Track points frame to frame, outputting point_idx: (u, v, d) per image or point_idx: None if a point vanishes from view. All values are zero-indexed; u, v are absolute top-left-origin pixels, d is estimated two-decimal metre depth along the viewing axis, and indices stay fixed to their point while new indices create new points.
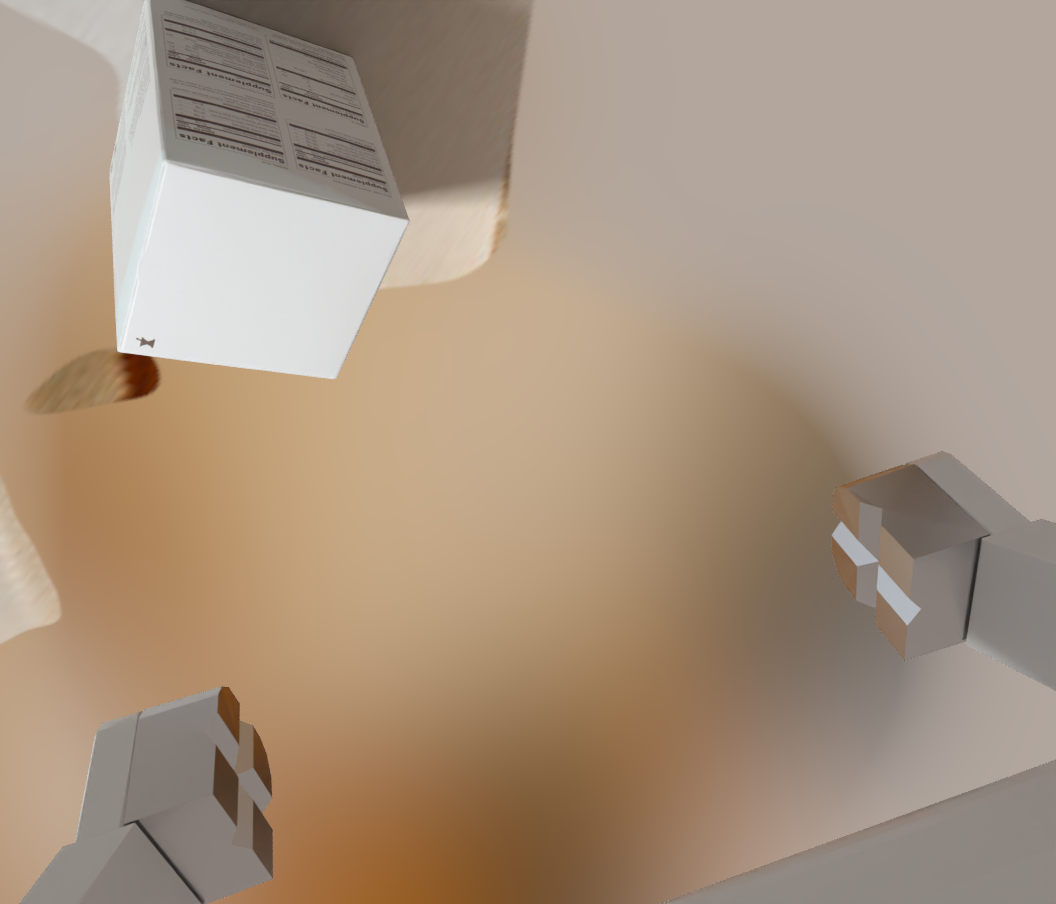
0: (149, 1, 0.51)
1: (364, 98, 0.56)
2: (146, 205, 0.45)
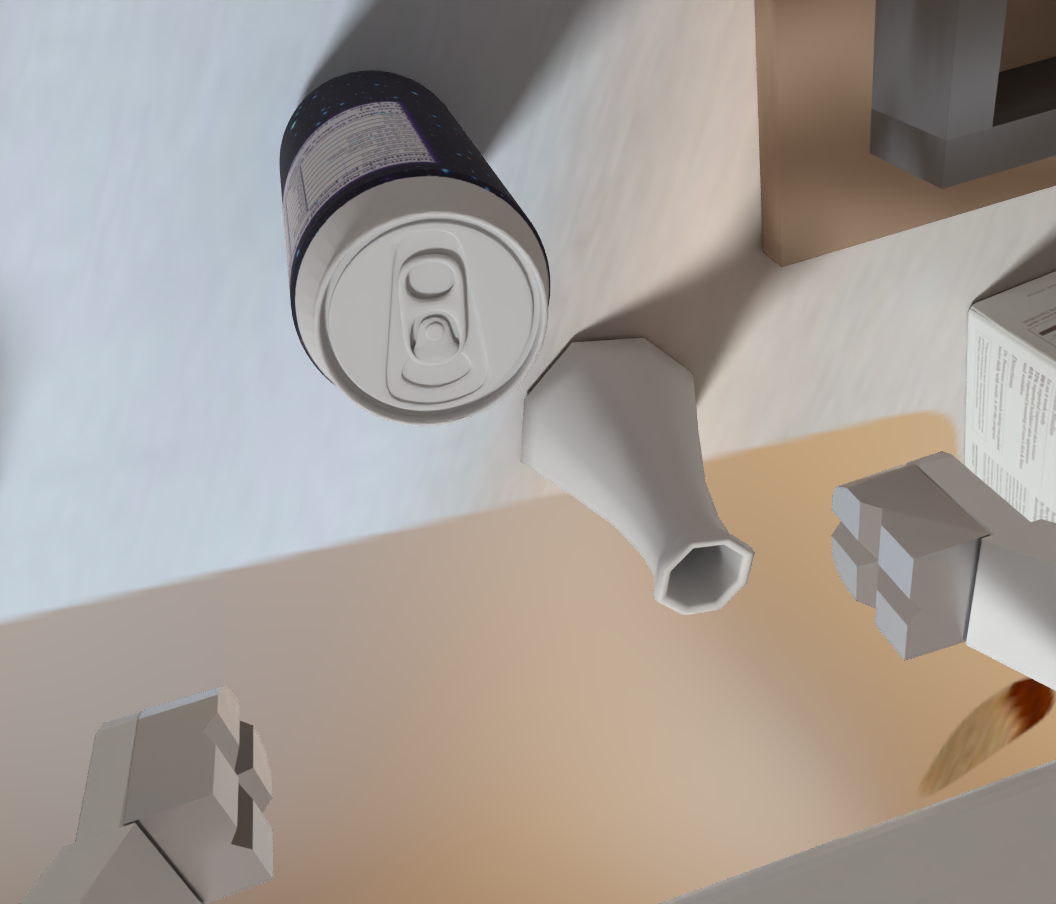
0: (991, 322, 0.36)
1: None
2: None
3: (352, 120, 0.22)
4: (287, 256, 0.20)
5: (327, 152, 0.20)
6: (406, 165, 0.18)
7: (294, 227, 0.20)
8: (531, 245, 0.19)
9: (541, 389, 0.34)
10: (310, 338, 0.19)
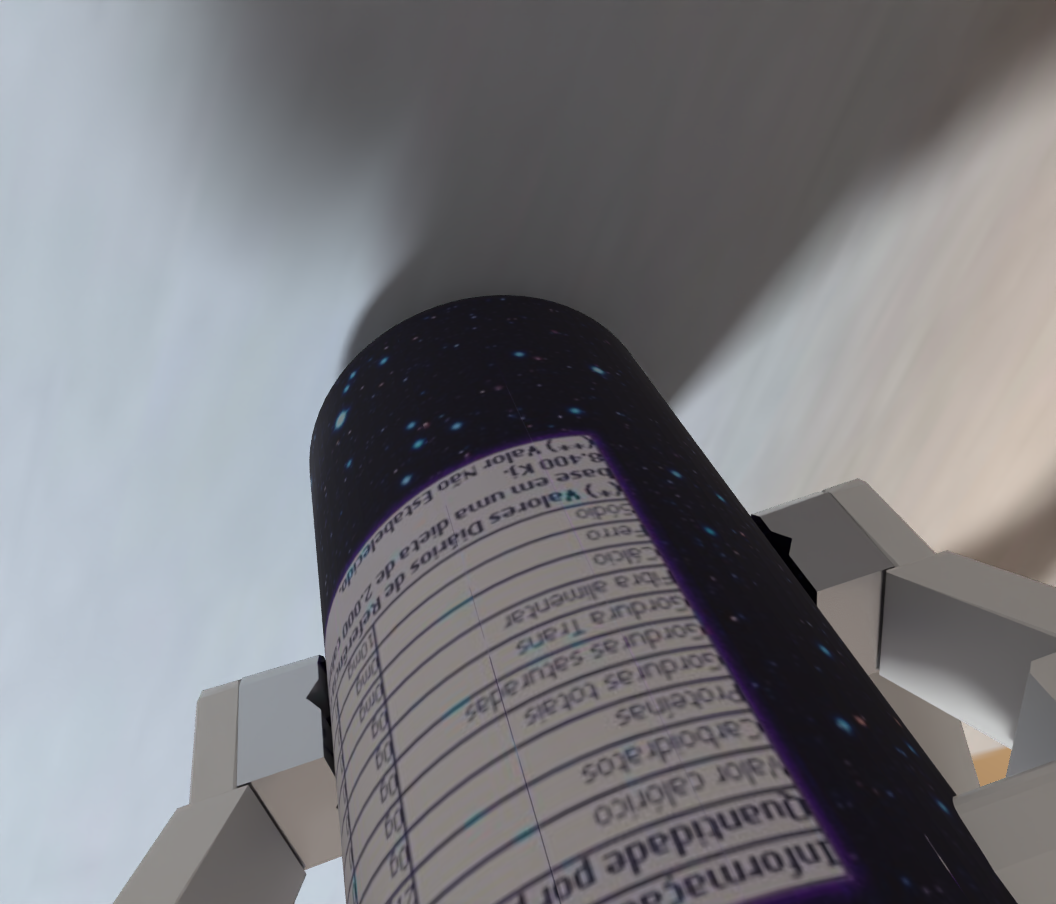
0: None
1: None
2: None
3: (501, 520, 0.09)
4: None
5: (455, 658, 0.08)
6: None
7: None
8: None
9: None
10: None
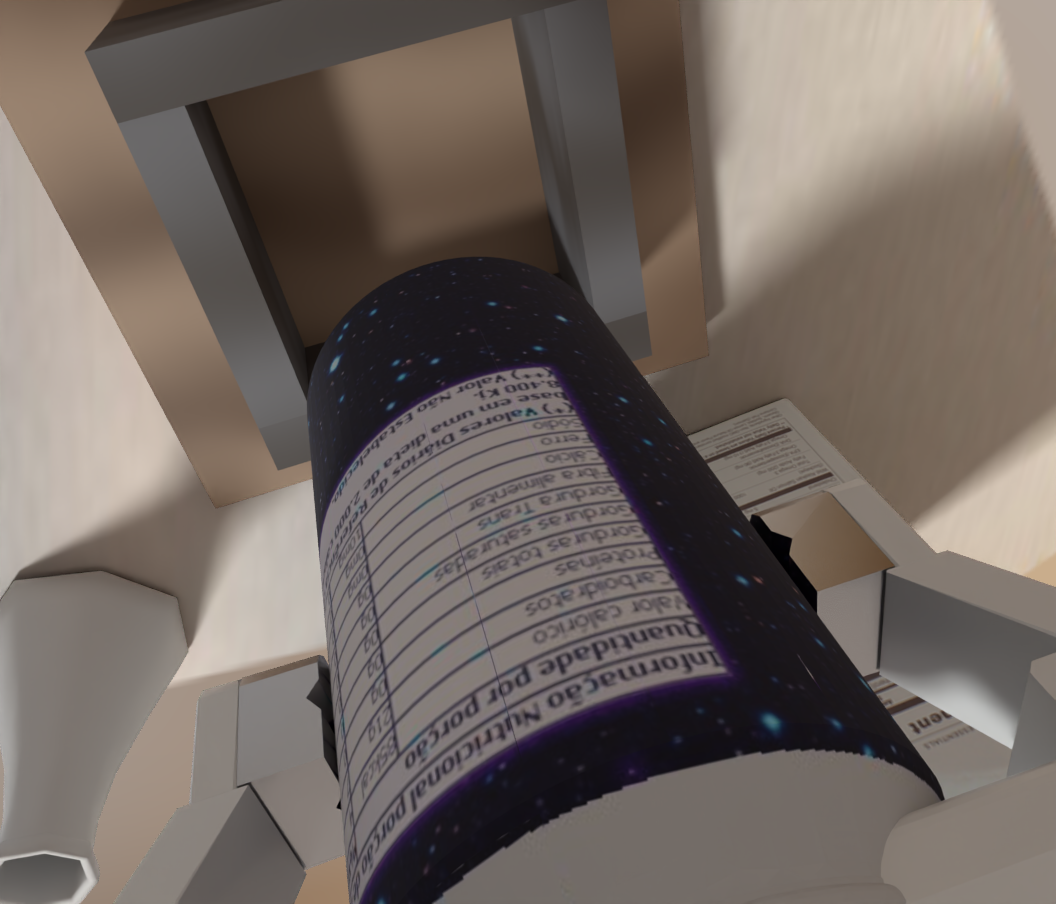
0: None
1: (850, 471, 0.32)
2: None
3: (469, 432, 0.10)
4: (339, 775, 0.09)
5: (427, 536, 0.09)
6: (669, 703, 0.07)
7: (360, 751, 0.08)
8: None
9: None
10: None
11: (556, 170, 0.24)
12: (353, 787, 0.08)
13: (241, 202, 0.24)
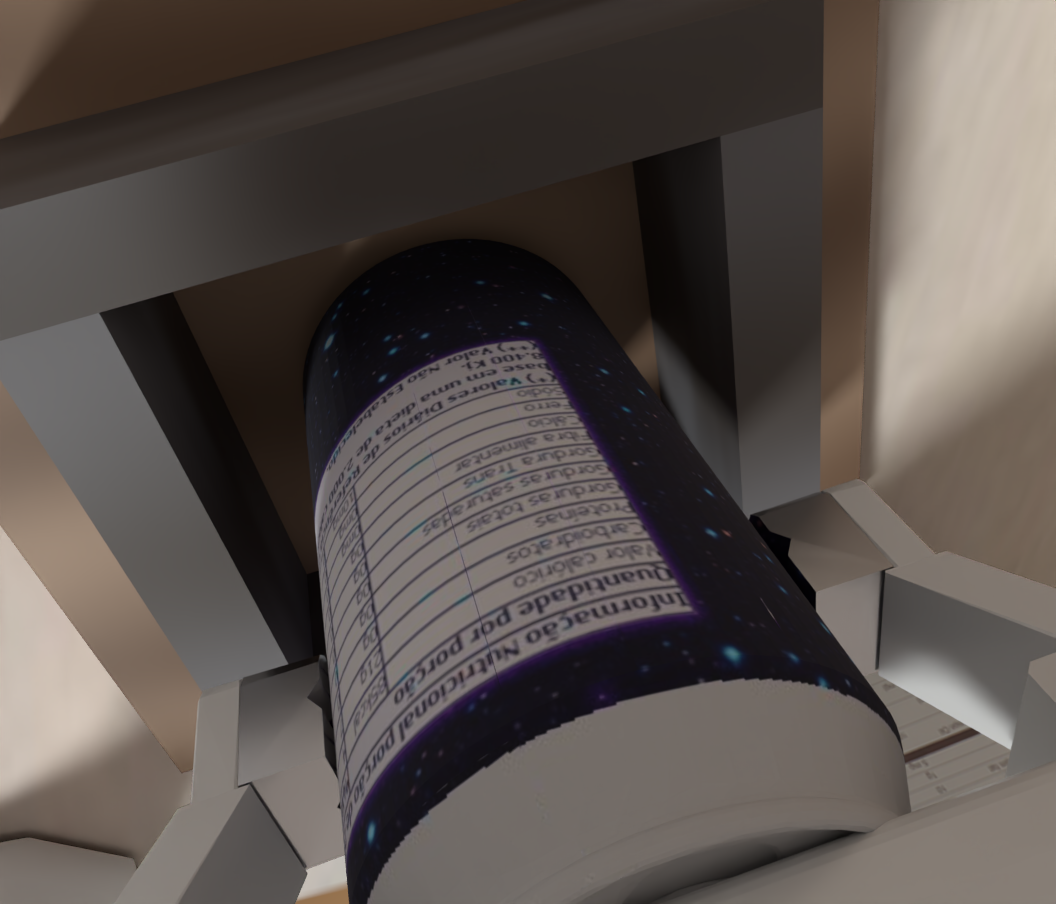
0: None
1: None
2: None
3: (457, 400, 0.11)
4: (334, 721, 0.10)
5: (416, 496, 0.10)
6: (637, 637, 0.07)
7: (353, 693, 0.09)
8: (903, 782, 0.08)
9: None
10: None
11: (694, 352, 0.16)
12: (346, 727, 0.09)
13: (209, 407, 0.15)
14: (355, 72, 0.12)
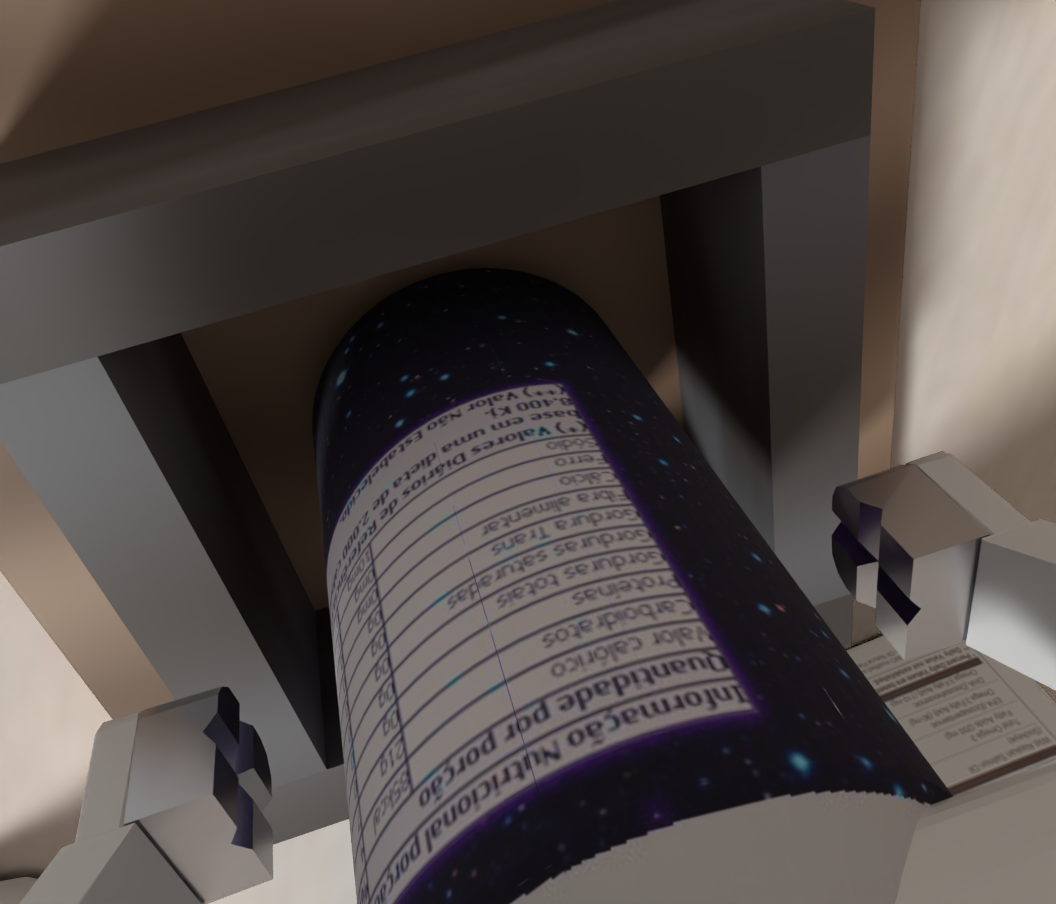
0: None
1: None
2: None
3: (481, 452, 0.10)
4: (349, 807, 0.09)
5: (439, 561, 0.09)
6: (692, 743, 0.07)
7: (372, 785, 0.08)
8: None
9: None
10: None
11: (724, 386, 0.15)
12: (364, 822, 0.08)
13: (214, 444, 0.15)
14: (371, 97, 0.12)
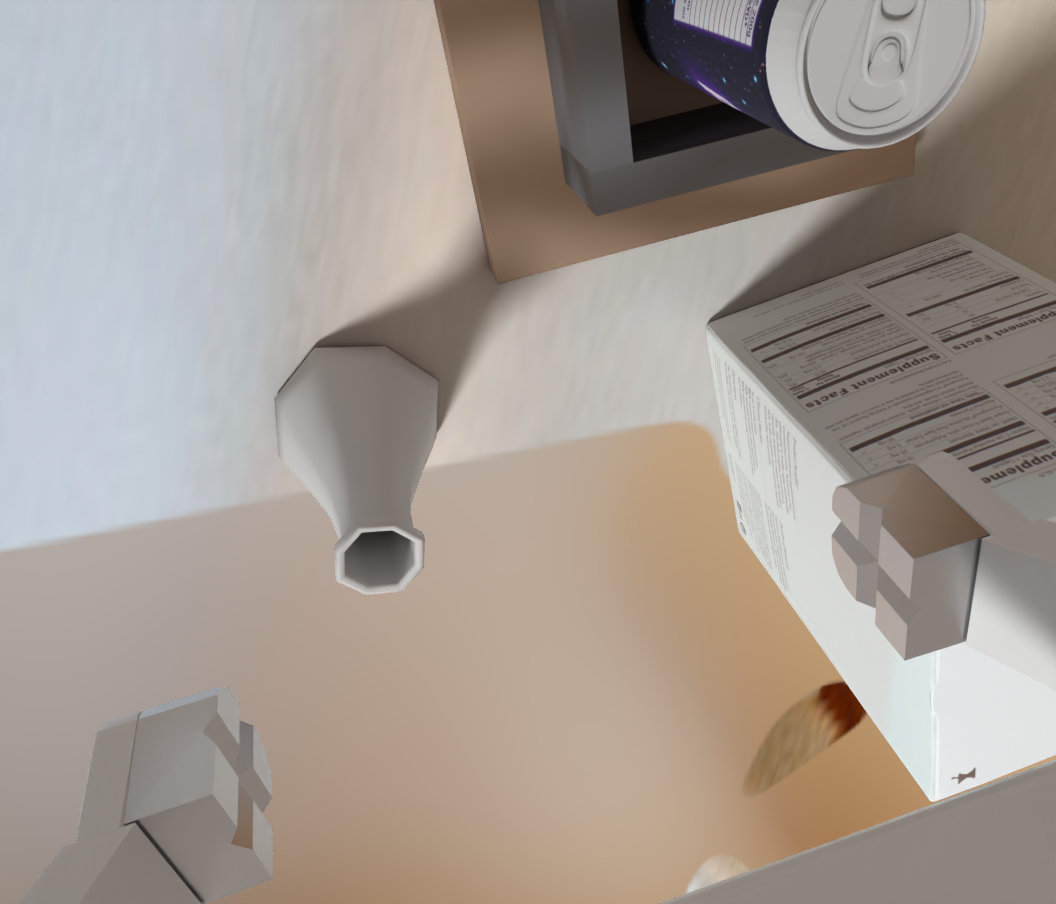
0: (718, 339, 0.39)
1: (1034, 274, 0.37)
2: None
3: None
4: (729, 6, 0.23)
5: None
6: None
7: None
8: None
9: (287, 389, 0.37)
10: (781, 56, 0.22)
11: None
12: None
13: None
14: None
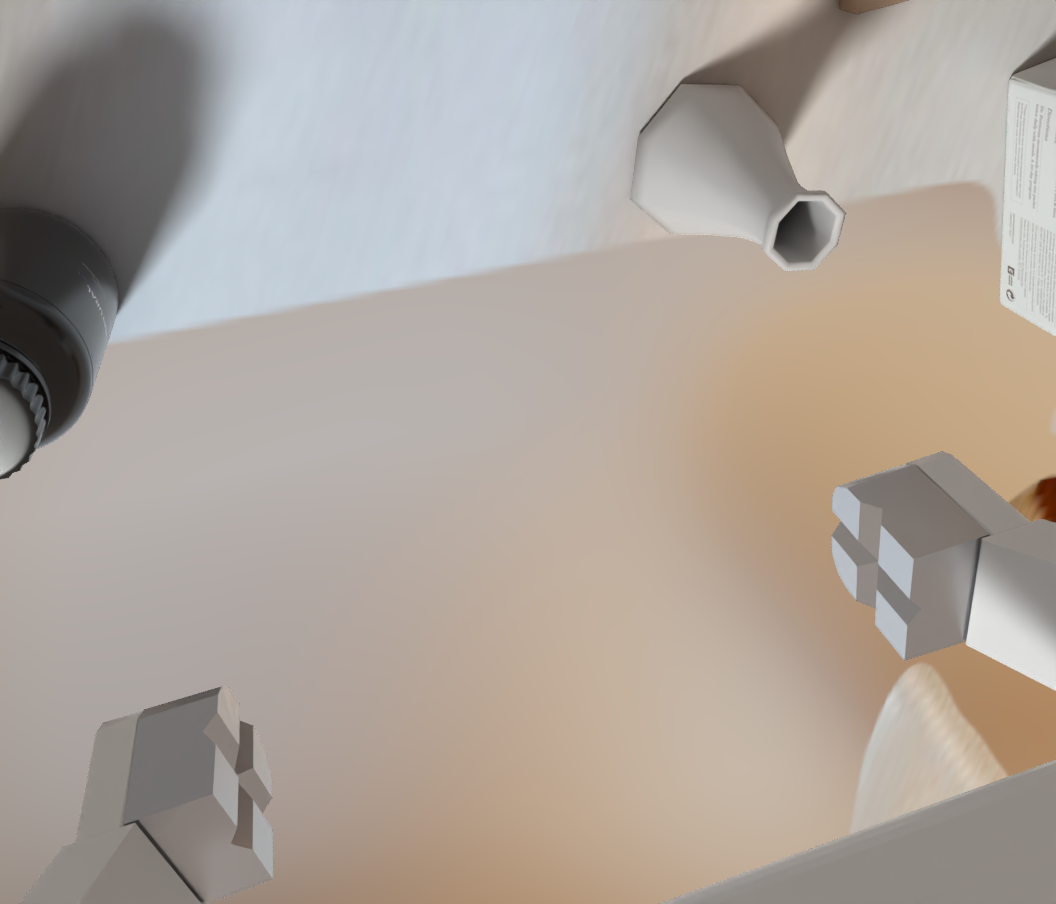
0: (1029, 84, 0.42)
1: None
2: None
3: None
4: None
5: None
6: None
7: None
8: None
9: (654, 125, 0.40)
10: None
11: None
12: None
13: None
14: None
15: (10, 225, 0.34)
